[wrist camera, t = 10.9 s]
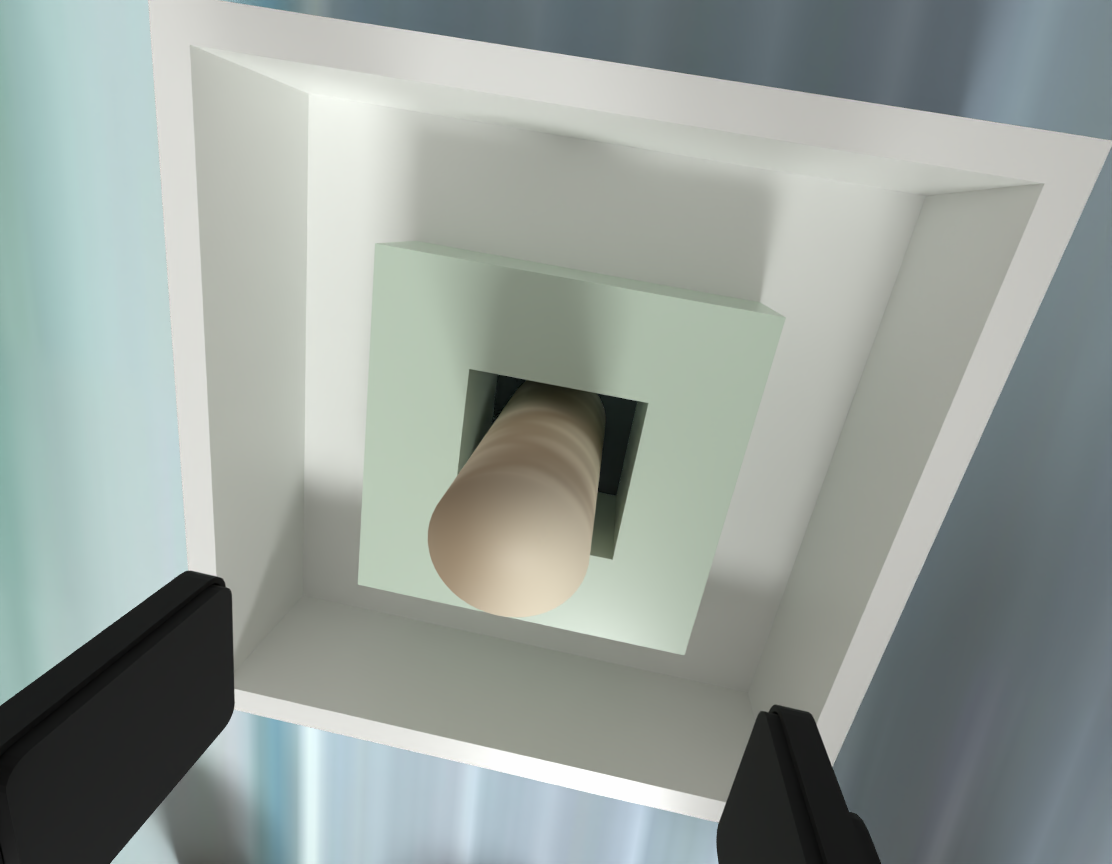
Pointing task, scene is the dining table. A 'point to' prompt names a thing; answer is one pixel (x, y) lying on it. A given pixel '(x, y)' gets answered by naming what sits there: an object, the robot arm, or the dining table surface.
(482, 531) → the peg
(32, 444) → the dining table surface
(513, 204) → the box
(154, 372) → the dining table surface
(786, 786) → the robot arm
